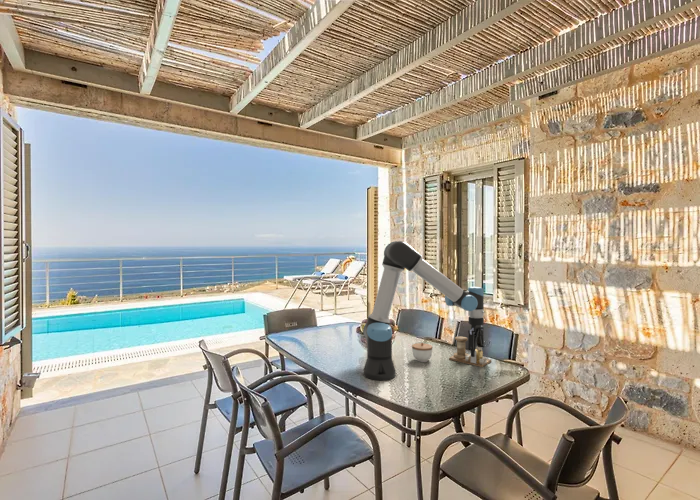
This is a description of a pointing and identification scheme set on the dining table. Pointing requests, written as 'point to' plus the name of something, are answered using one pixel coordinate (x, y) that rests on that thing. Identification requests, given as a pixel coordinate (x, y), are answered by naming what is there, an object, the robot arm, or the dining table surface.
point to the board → (468, 360)
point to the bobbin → (461, 347)
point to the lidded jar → (422, 352)
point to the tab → (478, 355)
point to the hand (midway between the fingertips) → (476, 361)
